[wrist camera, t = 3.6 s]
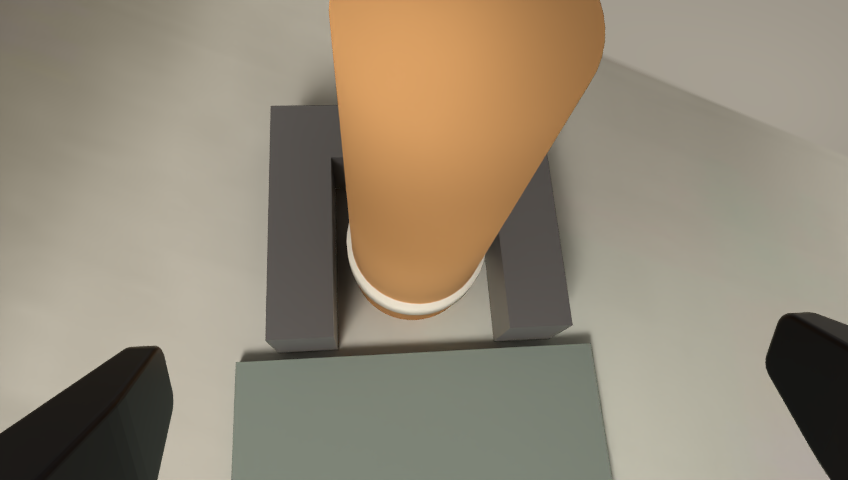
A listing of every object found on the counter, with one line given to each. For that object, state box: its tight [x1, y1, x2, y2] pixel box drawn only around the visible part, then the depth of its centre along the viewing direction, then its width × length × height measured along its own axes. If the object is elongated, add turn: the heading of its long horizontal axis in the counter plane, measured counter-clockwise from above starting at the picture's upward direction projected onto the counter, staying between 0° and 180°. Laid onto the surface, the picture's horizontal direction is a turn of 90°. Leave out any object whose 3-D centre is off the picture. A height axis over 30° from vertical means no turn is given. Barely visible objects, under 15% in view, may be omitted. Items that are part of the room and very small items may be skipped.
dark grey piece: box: [265, 105, 573, 353], centre depth 20 cm, size 8×9×2 cm
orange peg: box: [329, 0, 605, 320], centre depth 15 cm, size 4×4×13 cm
